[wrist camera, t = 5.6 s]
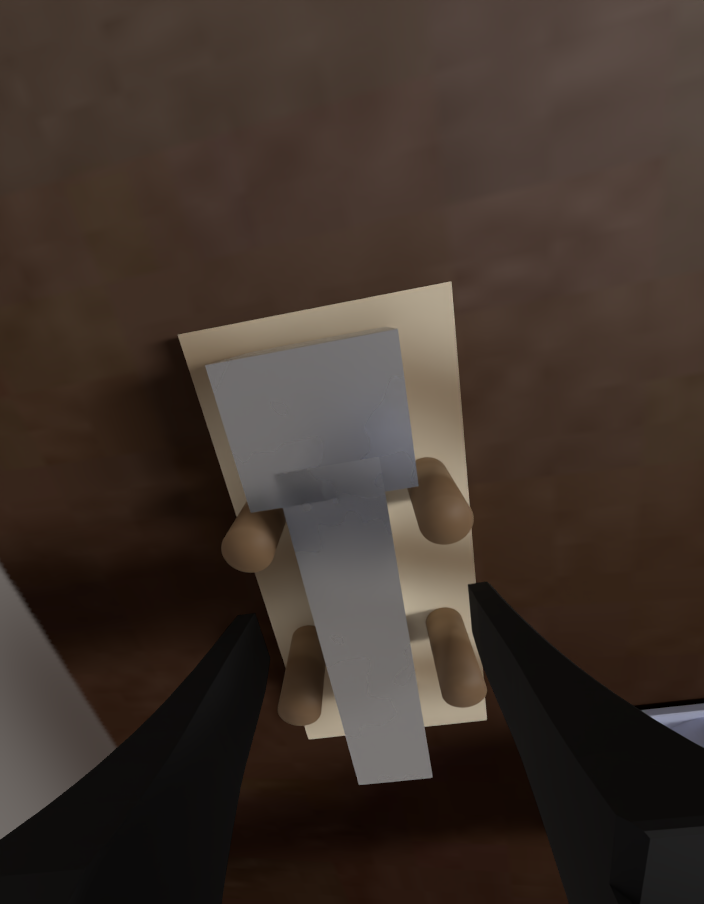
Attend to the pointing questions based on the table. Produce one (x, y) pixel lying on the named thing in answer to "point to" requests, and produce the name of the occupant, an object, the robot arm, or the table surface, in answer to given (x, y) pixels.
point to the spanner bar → (339, 518)
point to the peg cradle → (410, 510)
